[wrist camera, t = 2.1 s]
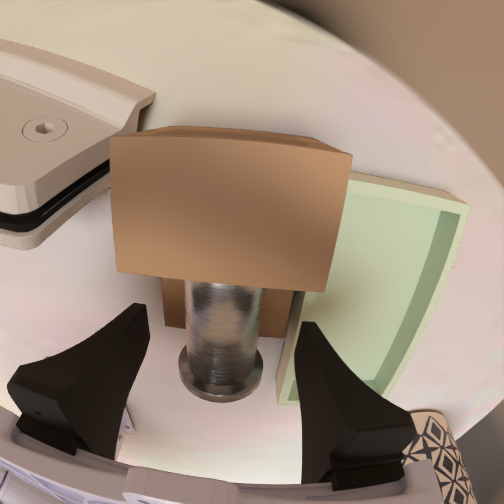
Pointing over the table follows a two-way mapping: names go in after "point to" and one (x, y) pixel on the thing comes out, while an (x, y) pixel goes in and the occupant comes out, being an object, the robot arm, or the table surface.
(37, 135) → the white curved plastic device
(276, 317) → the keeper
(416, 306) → the tray
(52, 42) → the table surface
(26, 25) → the table surface
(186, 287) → the pin
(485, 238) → the table surface
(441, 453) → the planter
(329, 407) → the robot arm
